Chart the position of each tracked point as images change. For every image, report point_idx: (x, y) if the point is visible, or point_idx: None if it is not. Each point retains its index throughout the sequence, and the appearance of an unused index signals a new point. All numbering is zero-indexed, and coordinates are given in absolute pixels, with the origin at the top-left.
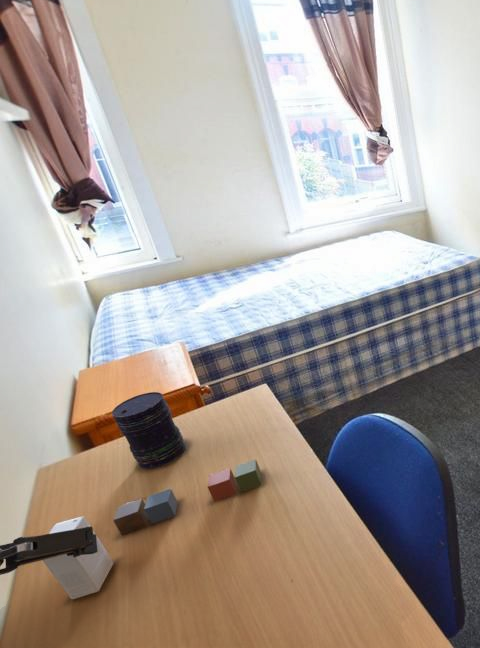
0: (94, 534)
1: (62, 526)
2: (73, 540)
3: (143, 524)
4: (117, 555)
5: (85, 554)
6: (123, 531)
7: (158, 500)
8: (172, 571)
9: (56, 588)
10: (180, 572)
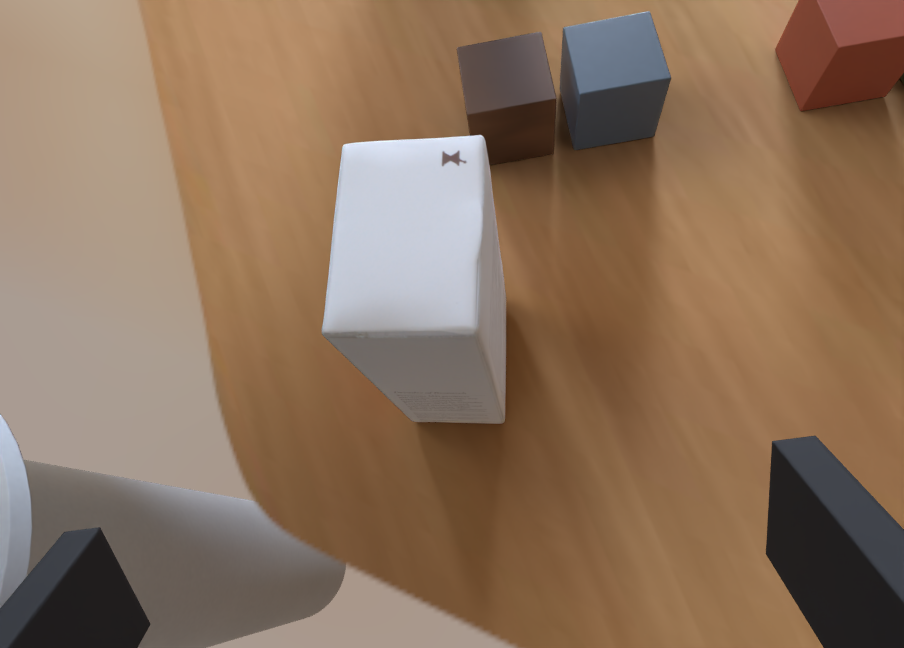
0: (829, 452)
1: (394, 180)
2: None
3: (550, 146)
4: None
5: (817, 633)
6: None
7: (625, 63)
8: (787, 437)
9: None
10: None
